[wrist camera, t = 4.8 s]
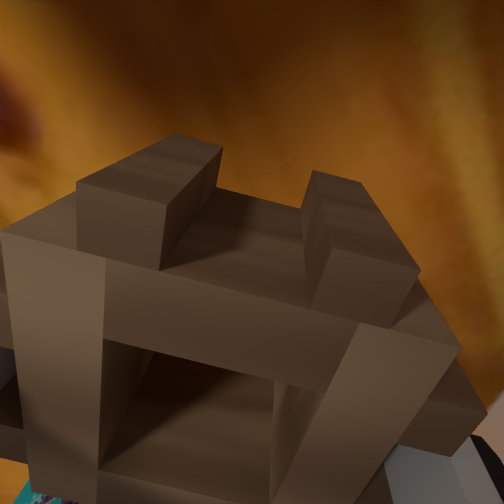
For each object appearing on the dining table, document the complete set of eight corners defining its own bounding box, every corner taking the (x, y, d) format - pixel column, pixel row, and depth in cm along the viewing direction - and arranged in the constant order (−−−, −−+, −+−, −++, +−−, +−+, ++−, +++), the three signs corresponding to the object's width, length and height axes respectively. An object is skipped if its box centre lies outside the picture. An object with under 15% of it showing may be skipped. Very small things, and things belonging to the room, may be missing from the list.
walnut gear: (87, 110, 10) (-88, 139, 5) (445, 204, 10) (575, 310, 5) (84, 372, 14) (-7, 504, 10) (325, 431, 15) (341, 586, 10)
